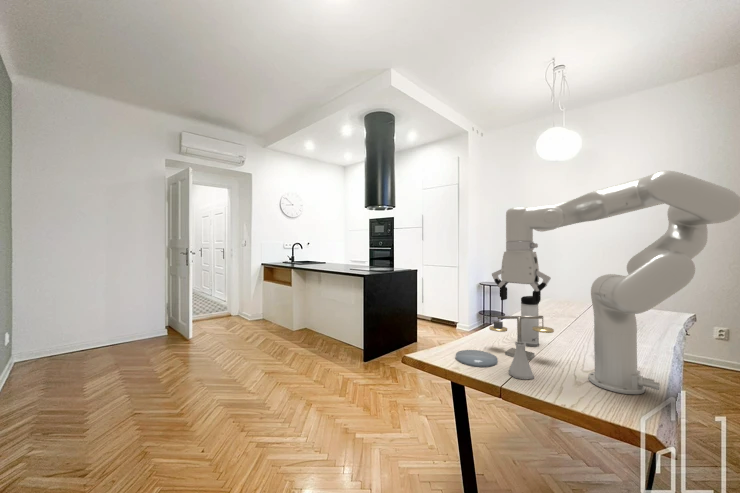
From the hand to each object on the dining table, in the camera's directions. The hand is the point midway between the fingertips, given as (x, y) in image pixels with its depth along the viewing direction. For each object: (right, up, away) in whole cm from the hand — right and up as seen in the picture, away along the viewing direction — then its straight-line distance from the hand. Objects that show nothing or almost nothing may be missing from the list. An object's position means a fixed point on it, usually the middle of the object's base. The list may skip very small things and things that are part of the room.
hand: (519, 301), depth 93 cm
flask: (0, -23, -1) cm, 23 cm away
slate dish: (-9, -23, +13) cm, 28 cm away
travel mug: (+19, -23, +28) cm, 41 cm away
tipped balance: (+8, -23, +16) cm, 29 cm away
